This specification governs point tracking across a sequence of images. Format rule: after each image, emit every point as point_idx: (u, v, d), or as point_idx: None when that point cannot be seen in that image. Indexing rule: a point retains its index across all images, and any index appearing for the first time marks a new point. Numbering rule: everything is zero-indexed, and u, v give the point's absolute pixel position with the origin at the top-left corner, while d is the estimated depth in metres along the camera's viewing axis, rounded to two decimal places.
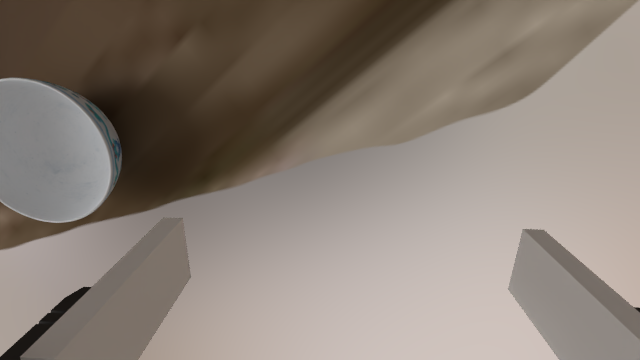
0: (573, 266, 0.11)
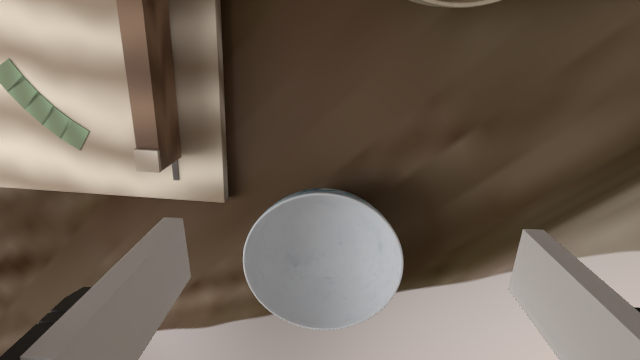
0: (573, 266, 0.11)
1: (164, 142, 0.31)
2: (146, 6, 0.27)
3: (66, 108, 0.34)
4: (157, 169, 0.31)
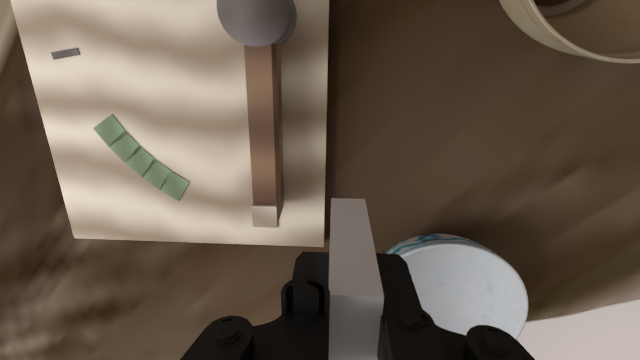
0: (359, 223, 0.13)
1: (278, 195, 0.31)
2: (273, 64, 0.26)
3: (167, 160, 0.34)
4: (274, 224, 0.30)
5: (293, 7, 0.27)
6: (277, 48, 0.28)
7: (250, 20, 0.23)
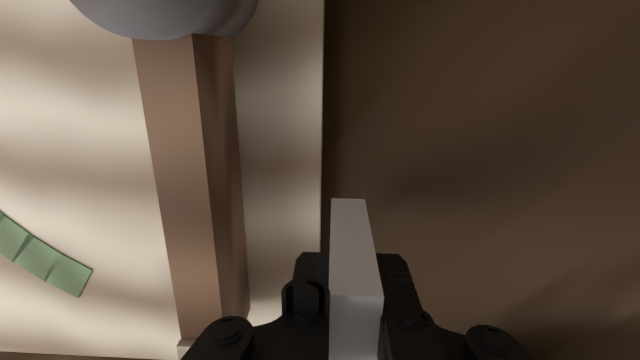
0: (358, 223, 0.13)
1: None
2: (203, 79, 0.12)
3: (51, 236, 0.20)
4: None
5: None
6: (220, 45, 0.14)
7: None
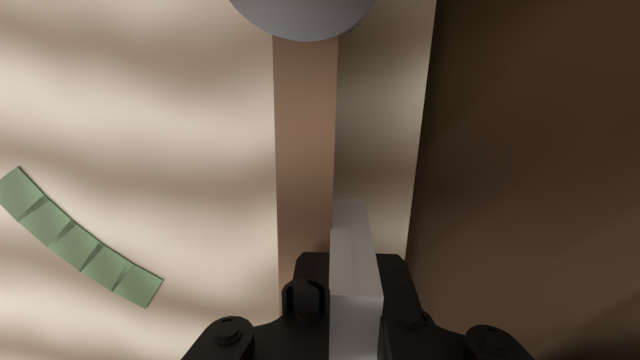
0: (358, 223, 0.13)
1: None
2: None
3: (123, 245, 0.19)
4: None
5: None
6: None
7: None
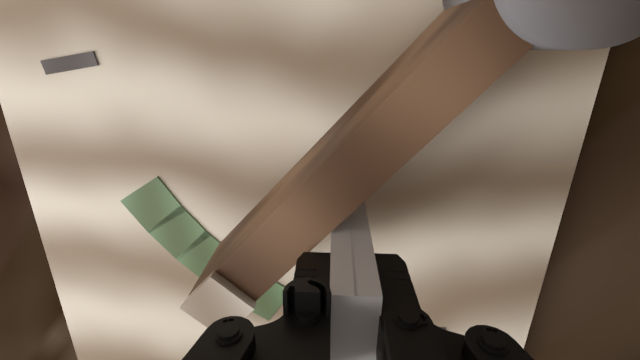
0: (358, 223, 0.13)
1: None
2: None
3: None
4: None
5: None
6: None
7: None
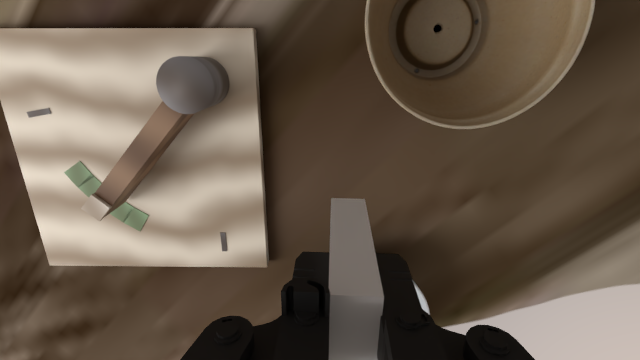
0: (358, 223, 0.13)
1: (119, 199, 0.36)
2: (178, 121, 0.32)
3: None
4: (99, 218, 0.35)
5: (221, 96, 0.34)
6: None
7: (177, 91, 0.30)
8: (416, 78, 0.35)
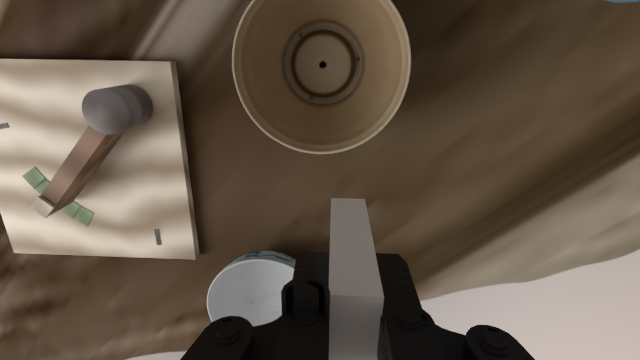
0: (358, 223, 0.13)
1: (63, 200, 0.43)
2: (105, 139, 0.40)
3: (76, 198, 0.47)
4: (45, 215, 0.42)
5: (143, 118, 0.41)
6: None
7: (99, 116, 0.37)
8: (308, 105, 0.41)
